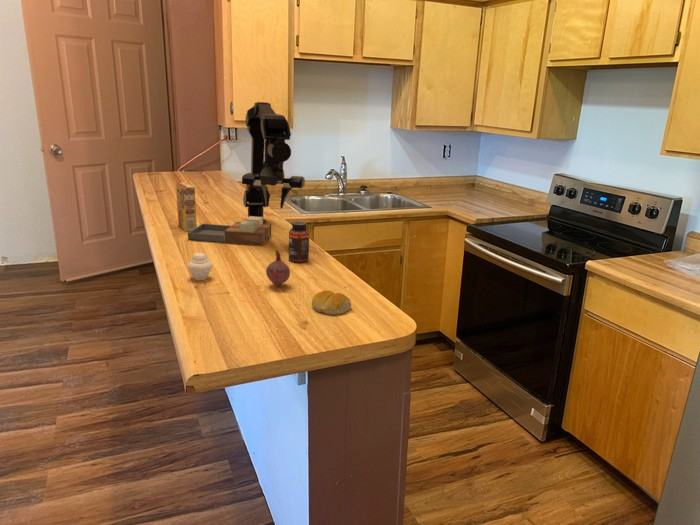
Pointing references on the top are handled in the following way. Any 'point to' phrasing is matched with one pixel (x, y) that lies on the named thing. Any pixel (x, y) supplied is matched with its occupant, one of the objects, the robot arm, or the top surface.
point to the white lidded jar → (199, 266)
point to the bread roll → (331, 303)
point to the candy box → (186, 206)
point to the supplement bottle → (298, 242)
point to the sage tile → (248, 226)
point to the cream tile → (256, 220)
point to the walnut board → (247, 235)
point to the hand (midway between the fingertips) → (273, 207)
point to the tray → (208, 233)
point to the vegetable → (278, 271)
